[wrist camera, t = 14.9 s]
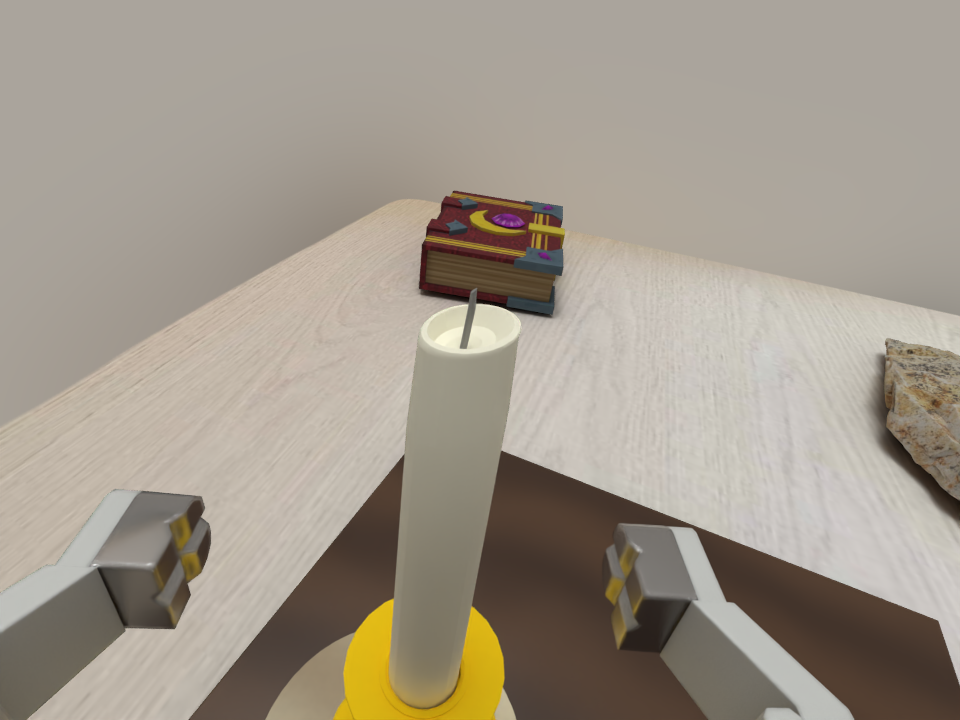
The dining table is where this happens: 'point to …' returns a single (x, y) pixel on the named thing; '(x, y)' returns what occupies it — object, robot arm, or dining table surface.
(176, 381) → the dining table surface
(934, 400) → the stone
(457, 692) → the candle
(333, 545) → the board
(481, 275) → the decorative book
